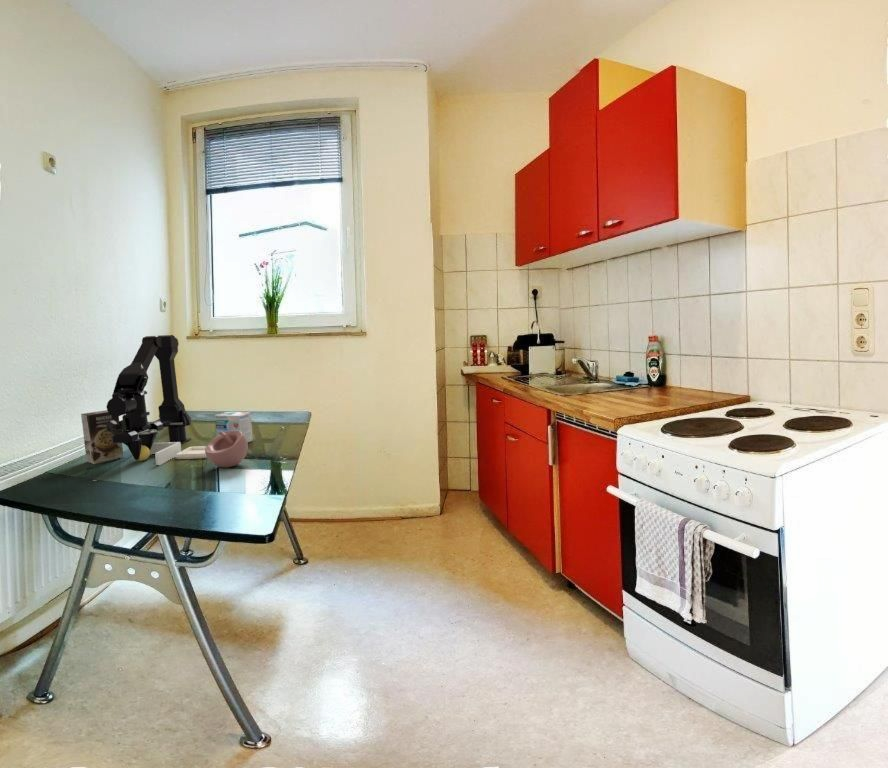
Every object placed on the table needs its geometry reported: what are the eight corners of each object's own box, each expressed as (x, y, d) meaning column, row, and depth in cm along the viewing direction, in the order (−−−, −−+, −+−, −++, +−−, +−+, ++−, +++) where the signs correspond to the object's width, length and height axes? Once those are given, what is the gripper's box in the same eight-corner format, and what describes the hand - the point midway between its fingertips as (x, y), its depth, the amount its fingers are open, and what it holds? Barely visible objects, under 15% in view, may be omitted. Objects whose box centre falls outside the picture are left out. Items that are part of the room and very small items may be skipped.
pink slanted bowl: (198, 470, 156) (194, 432, 154) (231, 459, 166) (227, 424, 165) (225, 474, 150) (221, 435, 149) (258, 463, 160) (254, 426, 159)
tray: (190, 451, 179) (190, 446, 179) (219, 450, 179) (219, 445, 179) (175, 459, 169) (175, 454, 169) (206, 458, 169) (205, 453, 169)
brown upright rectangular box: (93, 464, 167) (87, 415, 165) (86, 461, 171) (79, 413, 169) (124, 457, 174) (118, 410, 172) (116, 455, 178) (110, 408, 176)
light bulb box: (216, 444, 188) (213, 414, 187) (229, 439, 195) (226, 411, 193) (241, 445, 185) (238, 415, 184) (253, 440, 192) (251, 411, 190)
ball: (139, 458, 172) (137, 444, 171) (154, 458, 172) (152, 443, 171) (129, 463, 167) (128, 447, 166) (145, 462, 167) (143, 447, 166)
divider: (146, 454, 177) (144, 443, 176) (182, 453, 177) (181, 441, 176) (119, 467, 163) (117, 454, 162) (158, 465, 162) (157, 453, 162)
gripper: (128, 406, 177) (134, 450, 179) (91, 417, 158) (98, 466, 160) (161, 404, 176) (166, 449, 179) (127, 415, 158) (134, 465, 160)
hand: (141, 457), depth 169 cm, fingers closed on ball, 5 cm apart
